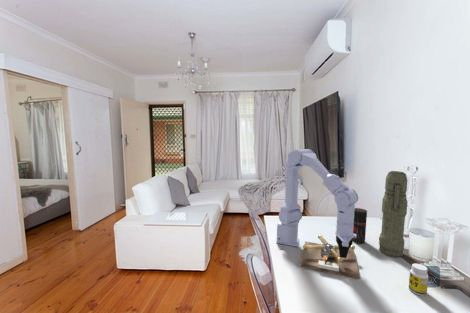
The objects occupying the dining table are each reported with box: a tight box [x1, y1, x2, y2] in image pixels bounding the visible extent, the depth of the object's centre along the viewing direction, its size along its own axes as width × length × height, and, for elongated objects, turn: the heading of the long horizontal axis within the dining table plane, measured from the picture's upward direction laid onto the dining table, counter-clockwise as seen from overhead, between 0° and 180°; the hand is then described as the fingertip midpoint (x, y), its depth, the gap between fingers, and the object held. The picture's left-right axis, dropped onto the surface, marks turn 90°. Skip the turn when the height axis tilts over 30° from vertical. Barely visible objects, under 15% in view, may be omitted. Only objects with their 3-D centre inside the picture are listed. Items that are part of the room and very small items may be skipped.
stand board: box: [299, 241, 360, 280], centre depth 97 cm, size 20×20×2 cm
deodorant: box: [352, 207, 368, 244], centre depth 114 cm, size 6×6×15 cm
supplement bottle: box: [408, 263, 429, 297], centre depth 78 cm, size 5×5×8 cm
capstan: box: [302, 234, 356, 264], centre depth 97 cm, size 21×21×4 cm
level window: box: [318, 260, 339, 272], centre depth 88 cm, size 7×3×2 cm, turn 69°
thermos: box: [378, 170, 409, 258], centre depth 102 cm, size 9×12×35 cm
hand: (343, 256), depth 91 cm, fingers closed
